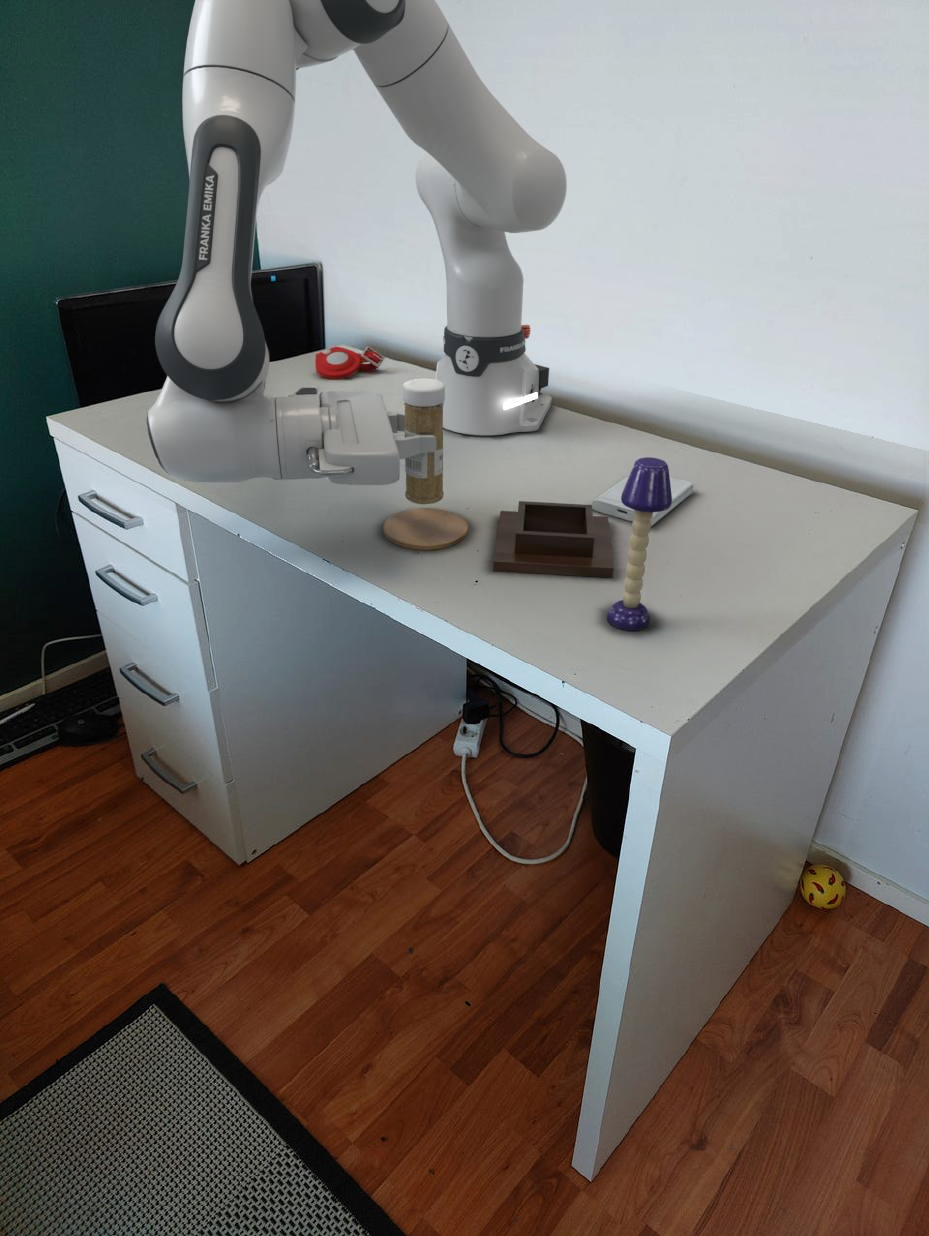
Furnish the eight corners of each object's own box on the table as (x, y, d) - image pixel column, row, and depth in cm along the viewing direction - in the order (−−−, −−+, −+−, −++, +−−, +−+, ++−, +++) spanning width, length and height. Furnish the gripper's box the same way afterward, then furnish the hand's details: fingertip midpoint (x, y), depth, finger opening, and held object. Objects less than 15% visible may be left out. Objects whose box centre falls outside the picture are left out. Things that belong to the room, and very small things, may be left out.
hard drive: (637, 468, 116) (593, 498, 107) (694, 482, 112) (653, 515, 103) (635, 479, 117) (591, 510, 108) (692, 494, 113) (651, 527, 104)
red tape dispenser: (328, 376, 150) (301, 350, 155) (332, 398, 153) (306, 371, 158) (388, 351, 154) (359, 326, 159) (390, 372, 157) (363, 347, 162)
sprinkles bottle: (451, 500, 100) (453, 385, 92) (417, 509, 97) (416, 391, 90) (430, 486, 103) (430, 374, 96) (397, 494, 101) (395, 380, 93)
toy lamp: (602, 606, 89) (620, 452, 80) (646, 605, 89) (670, 452, 80) (611, 631, 84) (632, 472, 76) (658, 631, 85) (684, 472, 76)
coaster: (409, 506, 108) (408, 502, 108) (481, 522, 105) (481, 518, 104) (368, 538, 100) (367, 534, 100) (444, 557, 97) (444, 552, 97)
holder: (500, 519, 105) (501, 492, 104) (606, 525, 105) (610, 498, 103) (493, 570, 95) (494, 541, 93) (612, 577, 94) (616, 548, 92)
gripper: (306, 444, 84) (446, 438, 86) (302, 381, 101) (419, 378, 103) (310, 503, 87) (446, 496, 89) (306, 433, 104) (420, 428, 106)
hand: (431, 432), depth 96 cm, fingers closed on sprinkles bottle, 4 cm apart
